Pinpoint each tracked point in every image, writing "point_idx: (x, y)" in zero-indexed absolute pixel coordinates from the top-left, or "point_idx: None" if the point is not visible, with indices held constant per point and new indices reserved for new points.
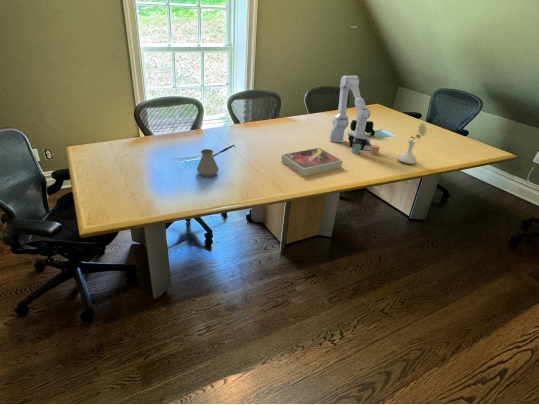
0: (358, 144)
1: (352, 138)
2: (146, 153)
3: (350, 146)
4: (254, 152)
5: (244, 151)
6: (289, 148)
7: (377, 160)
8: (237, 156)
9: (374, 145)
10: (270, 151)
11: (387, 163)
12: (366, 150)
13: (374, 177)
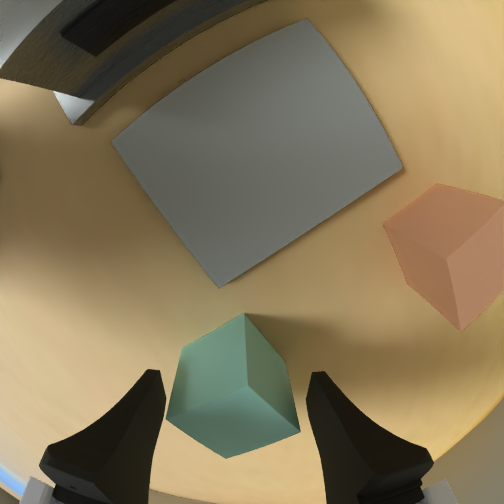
0: (239, 401)
1: (134, 499)
2: (12, 490)
3: (160, 413)
4: None
5: (20, 478)
6: (13, 447)
7: (450, 357)
8: None
9: (478, 240)
10: (28, 473)
11: (494, 342)
12: (332, 210)
13: None
